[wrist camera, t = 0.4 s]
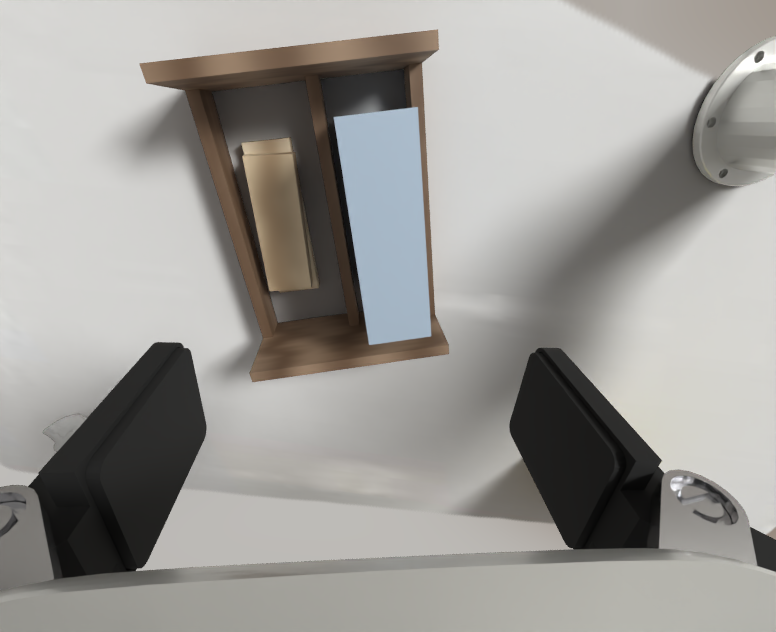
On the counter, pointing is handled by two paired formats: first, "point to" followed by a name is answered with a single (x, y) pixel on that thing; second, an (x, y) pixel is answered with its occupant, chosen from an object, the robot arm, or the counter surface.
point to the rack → (311, 64)
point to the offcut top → (279, 219)
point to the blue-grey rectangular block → (387, 220)
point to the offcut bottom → (286, 146)
